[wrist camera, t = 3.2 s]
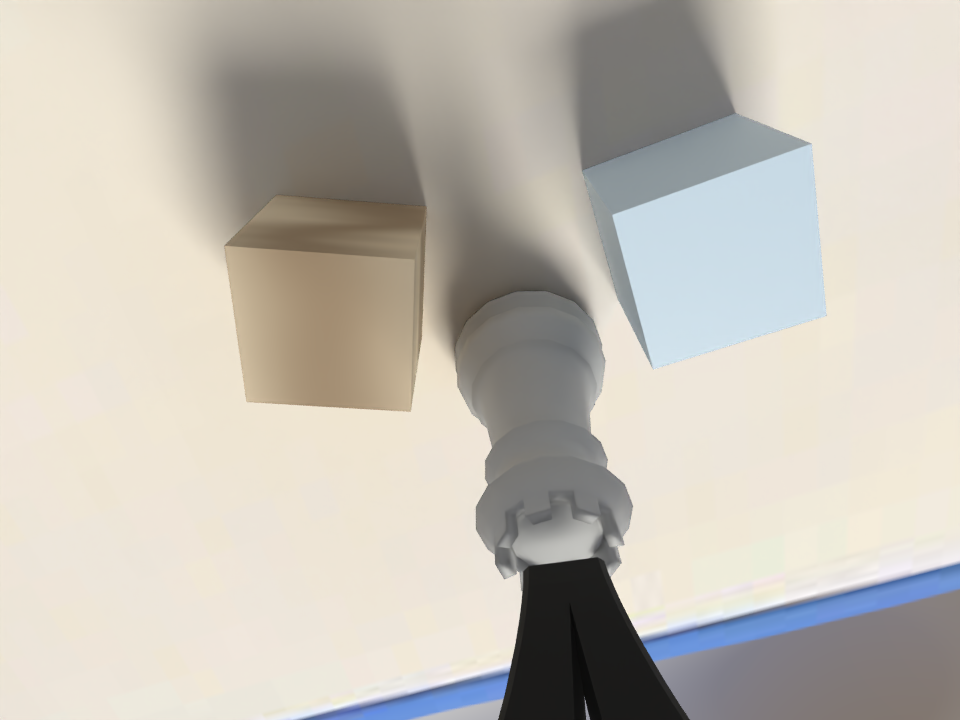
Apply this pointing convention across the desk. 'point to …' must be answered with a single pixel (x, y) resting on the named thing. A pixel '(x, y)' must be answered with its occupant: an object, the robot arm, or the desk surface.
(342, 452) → the desk surface
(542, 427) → the rook chess piece
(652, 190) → the pale blue block
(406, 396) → the beech block
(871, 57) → the desk surface
